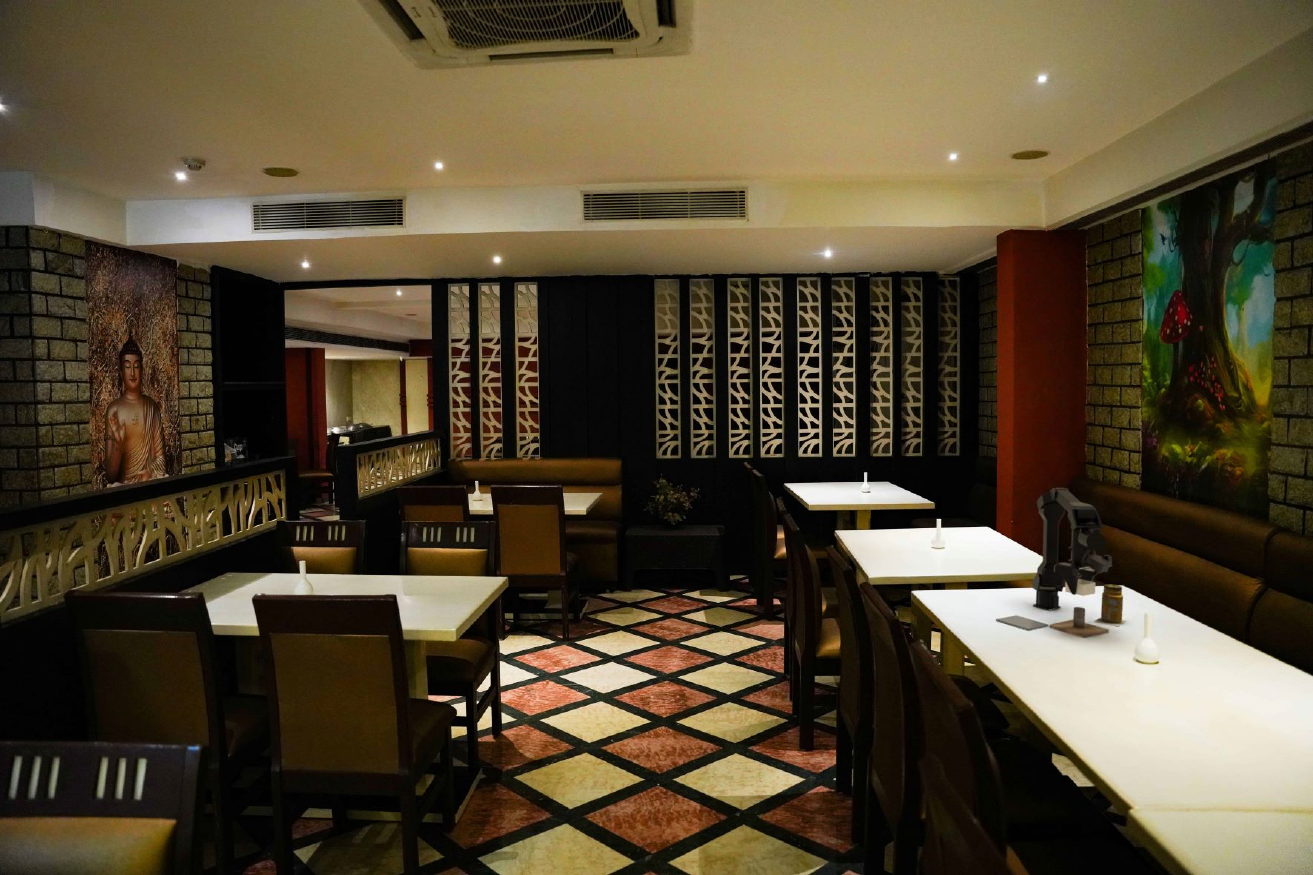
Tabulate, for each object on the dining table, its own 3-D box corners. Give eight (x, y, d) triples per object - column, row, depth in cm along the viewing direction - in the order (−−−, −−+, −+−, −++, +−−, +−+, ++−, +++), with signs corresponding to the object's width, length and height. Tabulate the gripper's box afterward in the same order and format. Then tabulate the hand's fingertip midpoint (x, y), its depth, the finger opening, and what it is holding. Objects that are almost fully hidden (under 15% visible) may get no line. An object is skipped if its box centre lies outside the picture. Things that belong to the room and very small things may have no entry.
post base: (1049, 627, 253) (1050, 606, 253) (1072, 622, 259) (1073, 601, 258) (1084, 637, 242) (1085, 615, 242) (1108, 632, 248) (1109, 610, 248)
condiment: (1126, 621, 260) (1127, 585, 259) (1118, 626, 254) (1119, 590, 254) (1102, 616, 265) (1103, 581, 265) (1093, 621, 260) (1095, 586, 259)
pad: (996, 620, 260) (996, 619, 260) (1016, 616, 265) (1016, 615, 265) (1028, 630, 250) (1028, 628, 250) (1048, 626, 254) (1048, 624, 254)
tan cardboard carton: (1065, 591, 251) (1065, 580, 251) (1077, 589, 254) (1077, 578, 254) (1083, 595, 246) (1083, 584, 245) (1095, 593, 248) (1095, 582, 248)
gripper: (1087, 552, 237) (1085, 603, 238) (1124, 546, 246) (1122, 595, 247) (1053, 545, 247) (1052, 594, 248) (1090, 540, 256) (1089, 587, 257)
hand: (1080, 593), depth 250 cm, fingers closed on tan cardboard carton, 6 cm apart
